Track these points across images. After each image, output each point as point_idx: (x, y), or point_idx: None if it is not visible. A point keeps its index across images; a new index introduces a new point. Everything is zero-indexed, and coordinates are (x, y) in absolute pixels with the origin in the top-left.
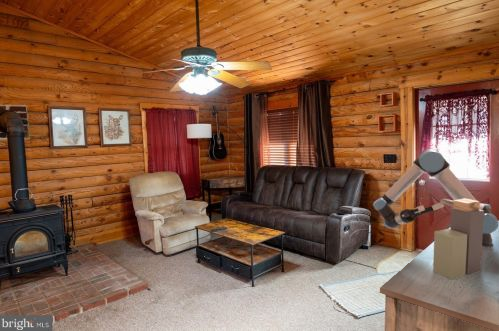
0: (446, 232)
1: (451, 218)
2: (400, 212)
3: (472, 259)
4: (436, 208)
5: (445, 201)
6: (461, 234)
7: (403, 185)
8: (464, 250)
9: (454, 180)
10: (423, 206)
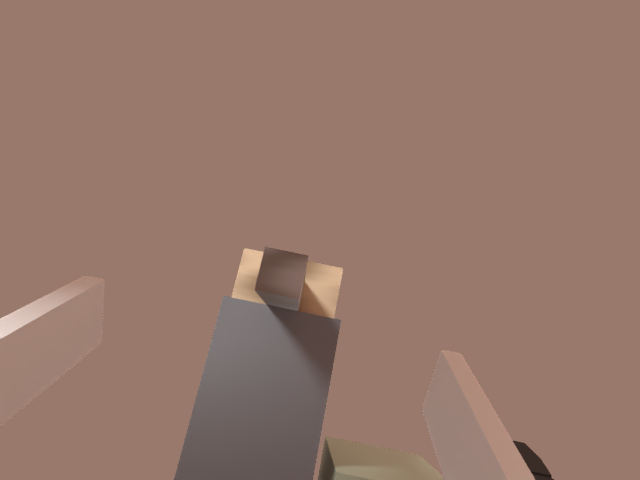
0: (403, 470)
1: (328, 390)
2: None
3: None
4: (7, 407)
5: (304, 276)
6: (350, 444)
7: None
8: None
9: None
10: (437, 366)
